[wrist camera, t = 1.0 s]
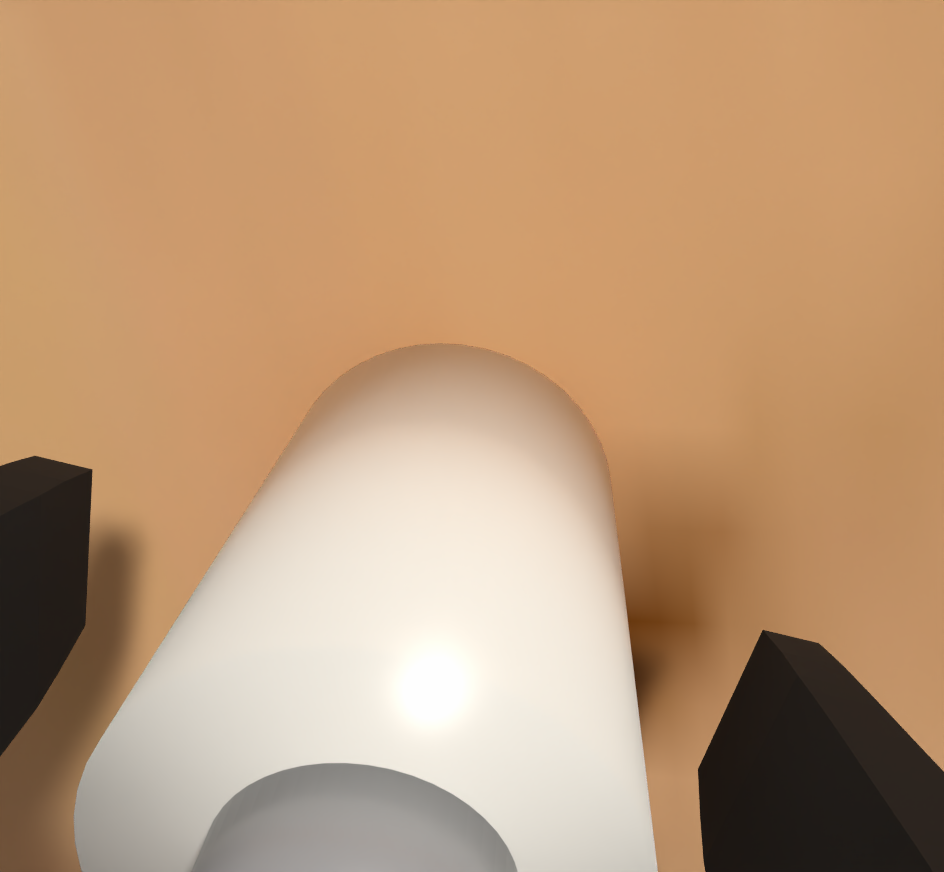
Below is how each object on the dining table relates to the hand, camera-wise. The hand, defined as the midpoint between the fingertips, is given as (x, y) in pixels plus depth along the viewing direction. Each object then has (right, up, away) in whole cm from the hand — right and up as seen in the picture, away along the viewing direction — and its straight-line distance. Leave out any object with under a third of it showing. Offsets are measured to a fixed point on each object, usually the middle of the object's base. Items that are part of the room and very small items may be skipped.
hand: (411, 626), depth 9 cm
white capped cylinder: (0, +1, +3) cm, 3 cm away
